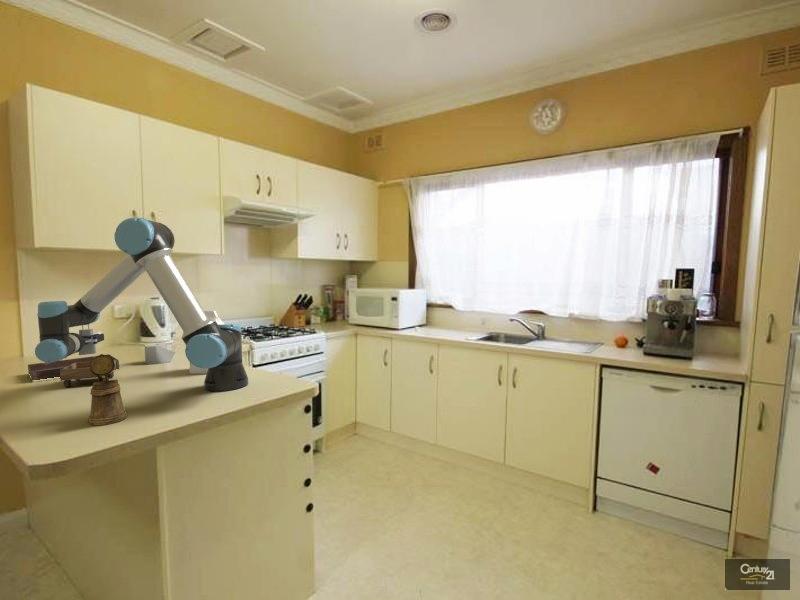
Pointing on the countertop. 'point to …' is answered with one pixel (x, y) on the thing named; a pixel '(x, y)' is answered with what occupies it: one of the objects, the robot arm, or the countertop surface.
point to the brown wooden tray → (57, 367)
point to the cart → (79, 372)
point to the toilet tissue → (158, 353)
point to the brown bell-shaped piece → (105, 394)
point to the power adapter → (89, 347)
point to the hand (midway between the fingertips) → (91, 335)
